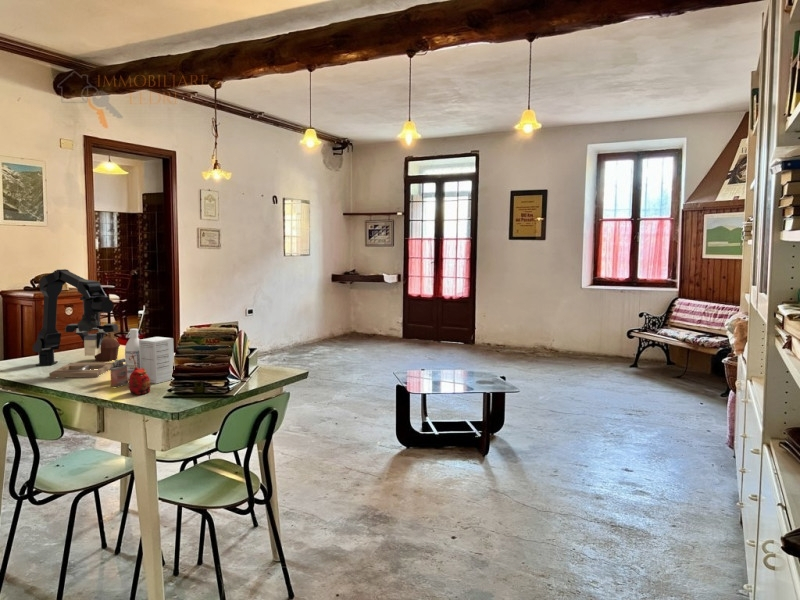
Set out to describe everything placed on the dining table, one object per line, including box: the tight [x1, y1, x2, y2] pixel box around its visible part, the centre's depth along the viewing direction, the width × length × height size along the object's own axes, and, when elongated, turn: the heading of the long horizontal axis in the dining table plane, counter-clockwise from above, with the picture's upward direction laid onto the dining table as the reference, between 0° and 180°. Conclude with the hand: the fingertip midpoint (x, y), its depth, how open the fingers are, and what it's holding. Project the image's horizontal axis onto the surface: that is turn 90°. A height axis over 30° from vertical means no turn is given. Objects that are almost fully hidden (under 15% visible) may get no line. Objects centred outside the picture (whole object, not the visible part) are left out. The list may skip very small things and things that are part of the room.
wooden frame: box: [48, 361, 114, 379], centre depth 229 cm, size 19×18×2 cm
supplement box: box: [139, 336, 175, 384], centre depth 218 cm, size 10×9×17 cm
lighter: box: [109, 358, 129, 388], centre depth 210 cm, size 8×3×10 cm, turn 168°
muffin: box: [93, 337, 121, 362], centre depth 254 cm, size 12×11×10 cm
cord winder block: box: [83, 333, 101, 357], centre depth 229 cm, size 6×4×8 cm, turn 8°
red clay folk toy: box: [128, 353, 152, 396], centre depth 199 cm, size 8×7×15 cm
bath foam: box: [124, 328, 141, 380], centre depth 221 cm, size 7×7×20 cm
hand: (92, 348), depth 229 cm, fingers closed on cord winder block, 4 cm apart
